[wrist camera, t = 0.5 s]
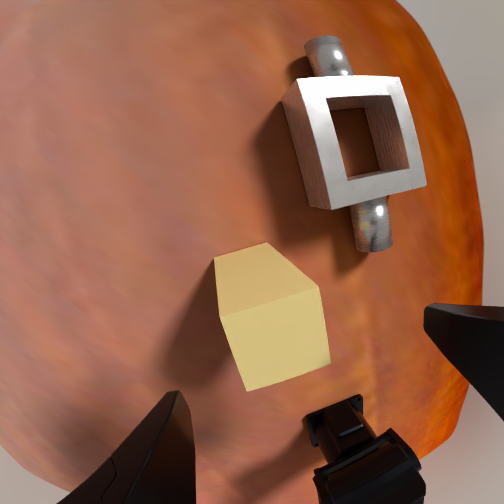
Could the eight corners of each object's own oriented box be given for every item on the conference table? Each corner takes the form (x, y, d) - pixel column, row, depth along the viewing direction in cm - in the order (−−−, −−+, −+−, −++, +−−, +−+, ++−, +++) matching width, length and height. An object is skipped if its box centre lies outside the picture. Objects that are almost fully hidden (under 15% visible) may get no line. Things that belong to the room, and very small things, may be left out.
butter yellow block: (279, 291, 21) (330, 363, 12) (229, 306, 21) (247, 391, 11) (266, 242, 20) (318, 286, 11) (214, 257, 20) (219, 316, 10)
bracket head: (402, 229, 22) (432, 236, 18) (319, 256, 21) (342, 270, 17) (357, 52, 18) (380, 33, 14) (266, 55, 17) (278, 29, 13)
